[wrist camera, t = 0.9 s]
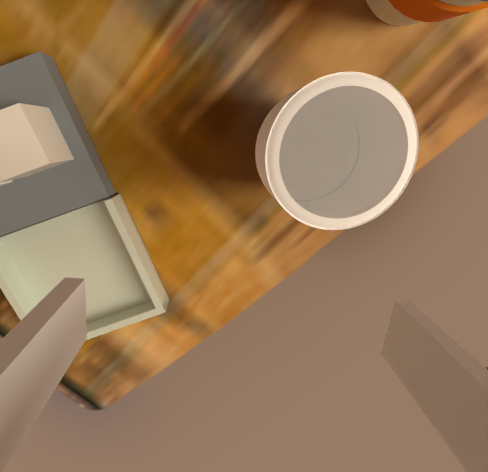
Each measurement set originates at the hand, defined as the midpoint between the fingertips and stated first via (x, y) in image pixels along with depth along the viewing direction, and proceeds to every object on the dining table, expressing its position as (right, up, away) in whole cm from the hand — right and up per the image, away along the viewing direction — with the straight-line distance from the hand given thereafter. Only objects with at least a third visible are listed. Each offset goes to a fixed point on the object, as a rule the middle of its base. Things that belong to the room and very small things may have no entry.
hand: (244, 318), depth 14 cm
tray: (-18, -1, +25) cm, 31 cm away
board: (-23, +12, +21) cm, 33 cm away
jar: (+6, +13, +23) cm, 27 cm away
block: (-20, +12, +18) cm, 30 cm away
